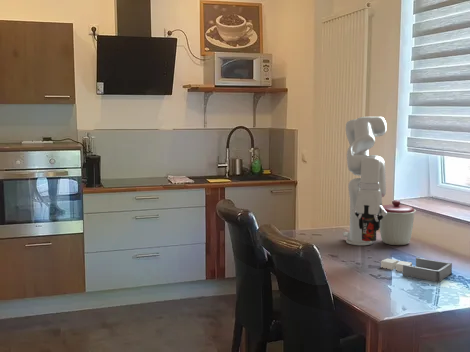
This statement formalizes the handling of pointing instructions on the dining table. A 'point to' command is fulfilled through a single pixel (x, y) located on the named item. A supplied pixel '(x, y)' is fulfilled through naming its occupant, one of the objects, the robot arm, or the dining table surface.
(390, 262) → the tile back
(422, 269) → the grey u-shaped bracket
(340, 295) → the dining table surface
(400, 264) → the tile front
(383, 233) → the canister
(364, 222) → the deodorant
